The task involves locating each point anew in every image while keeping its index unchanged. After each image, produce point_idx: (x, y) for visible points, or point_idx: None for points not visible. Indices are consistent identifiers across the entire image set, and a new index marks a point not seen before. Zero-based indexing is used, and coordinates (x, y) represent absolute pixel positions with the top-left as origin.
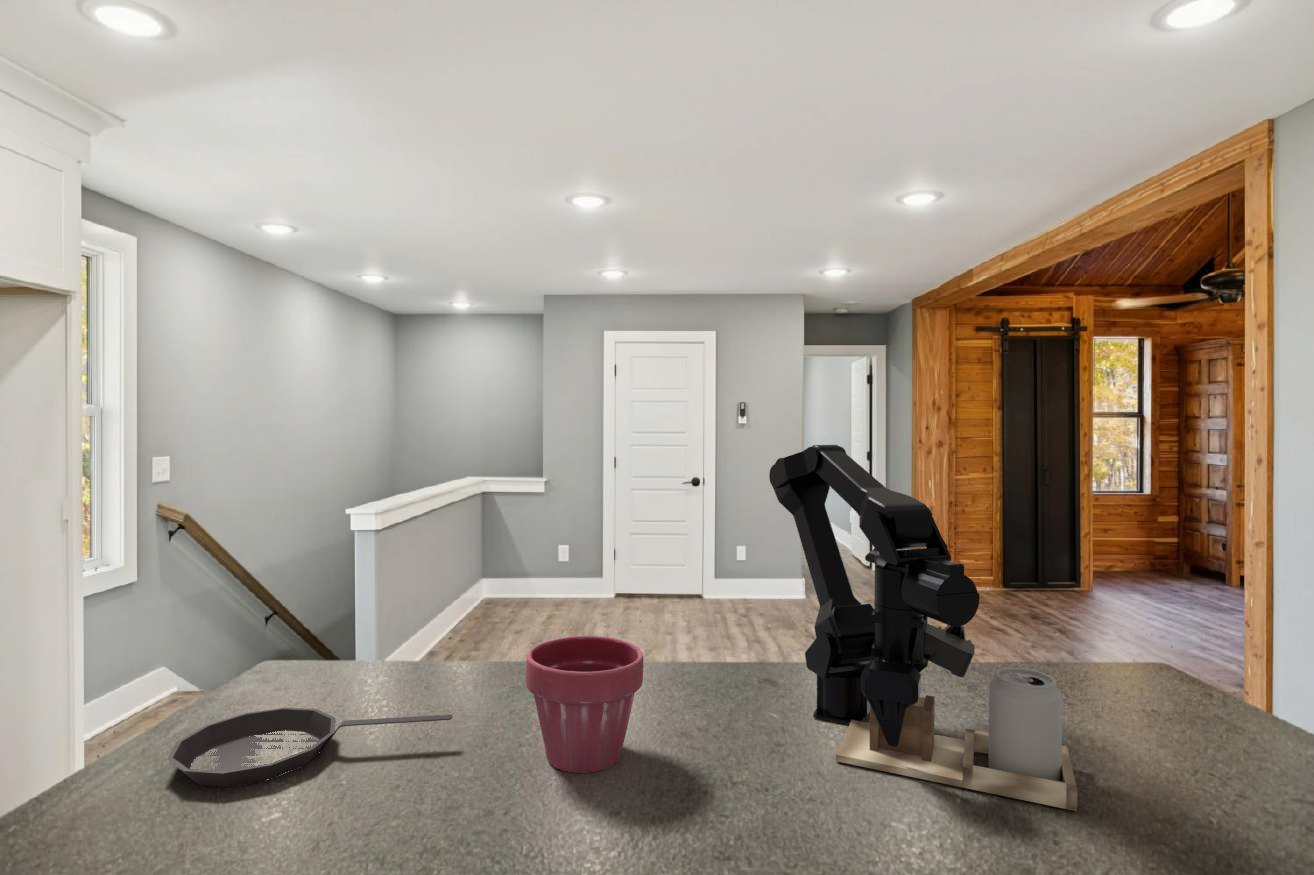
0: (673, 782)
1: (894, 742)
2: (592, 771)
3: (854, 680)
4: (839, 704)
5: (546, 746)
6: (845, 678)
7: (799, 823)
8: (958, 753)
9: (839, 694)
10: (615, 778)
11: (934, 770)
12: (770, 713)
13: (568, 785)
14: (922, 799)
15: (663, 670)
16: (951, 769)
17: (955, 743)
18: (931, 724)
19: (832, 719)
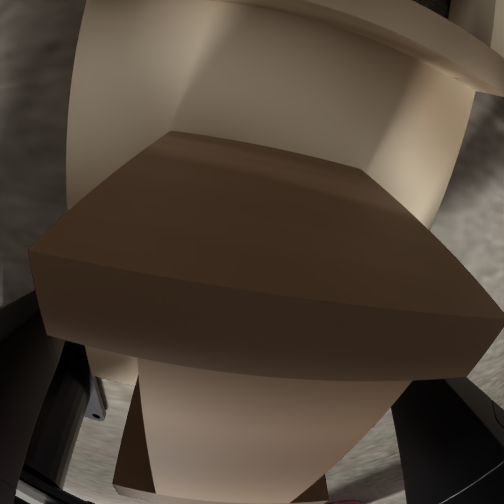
0: (383, 477)
1: None
2: (360, 502)
3: (26, 452)
4: (77, 417)
5: None
6: (47, 475)
7: (495, 385)
8: (242, 29)
9: (69, 441)
10: (370, 493)
11: (425, 171)
12: None
13: (379, 498)
14: (496, 220)
15: (81, 491)
16: (409, 100)
17: (131, 36)
18: (448, 251)
19: (99, 396)
